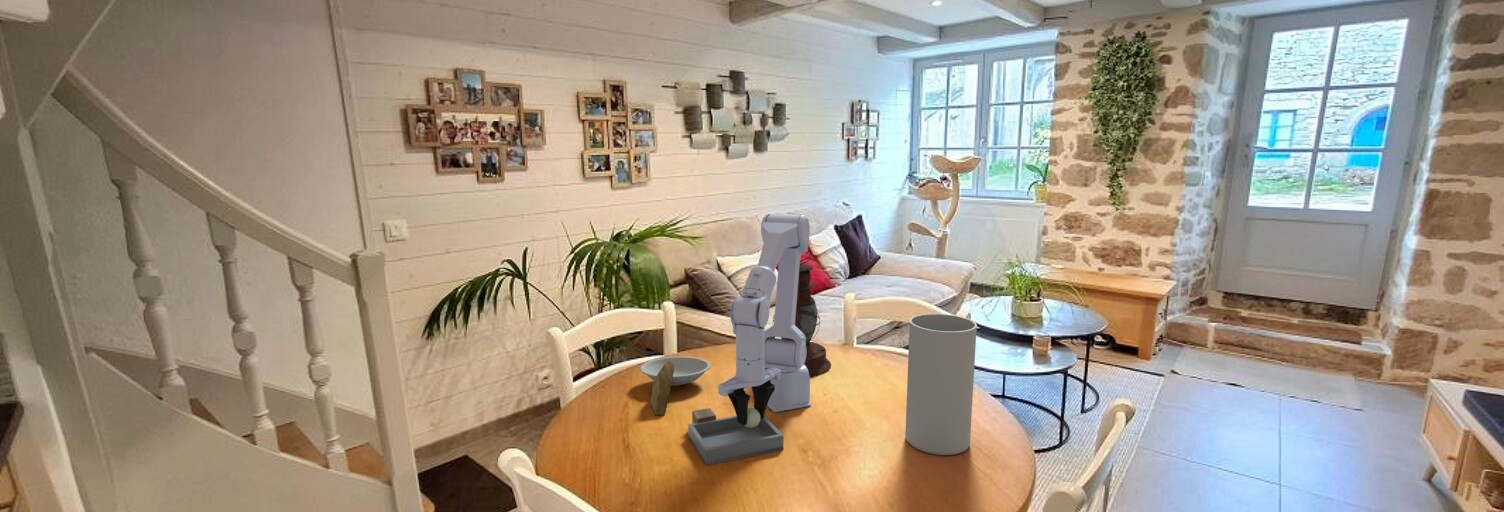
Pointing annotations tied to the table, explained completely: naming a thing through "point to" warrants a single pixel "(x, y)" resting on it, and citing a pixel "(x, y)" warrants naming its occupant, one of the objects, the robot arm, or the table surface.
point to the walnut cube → (703, 415)
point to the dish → (677, 368)
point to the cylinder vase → (940, 383)
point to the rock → (662, 389)
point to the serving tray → (733, 439)
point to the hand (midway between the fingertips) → (750, 420)
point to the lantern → (809, 323)
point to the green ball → (752, 418)
